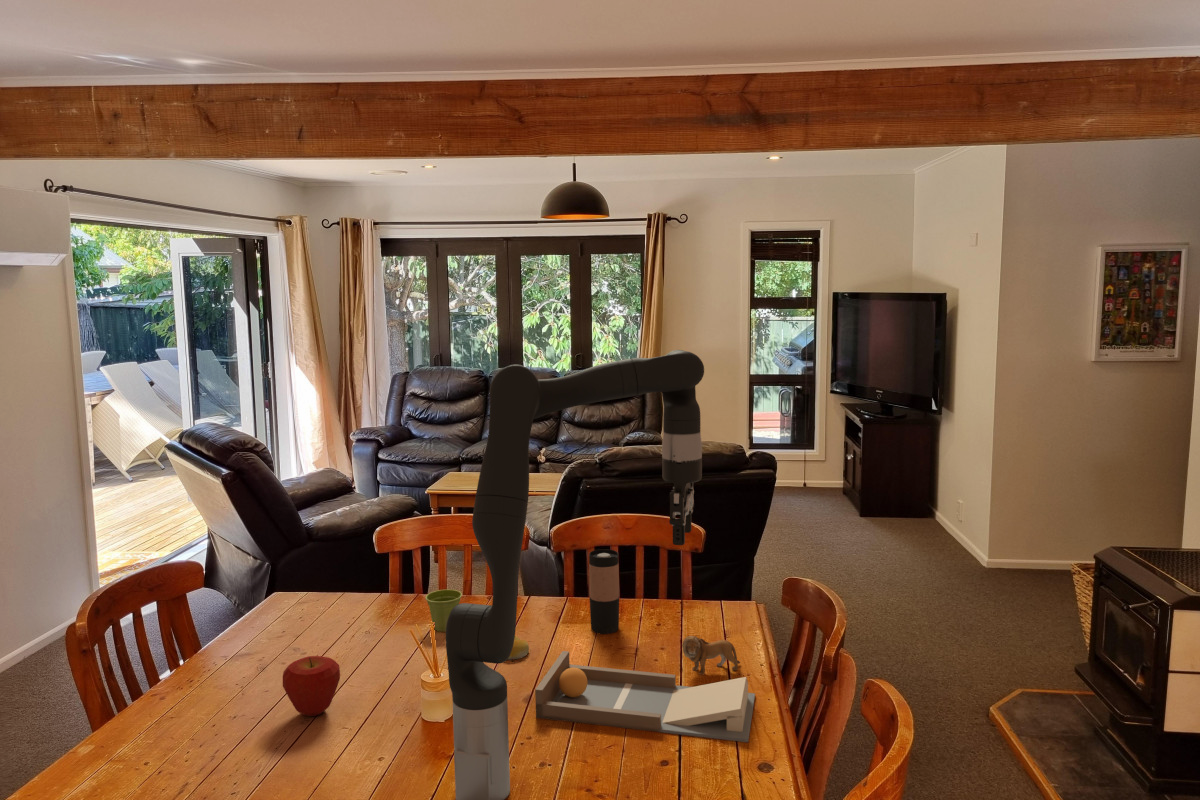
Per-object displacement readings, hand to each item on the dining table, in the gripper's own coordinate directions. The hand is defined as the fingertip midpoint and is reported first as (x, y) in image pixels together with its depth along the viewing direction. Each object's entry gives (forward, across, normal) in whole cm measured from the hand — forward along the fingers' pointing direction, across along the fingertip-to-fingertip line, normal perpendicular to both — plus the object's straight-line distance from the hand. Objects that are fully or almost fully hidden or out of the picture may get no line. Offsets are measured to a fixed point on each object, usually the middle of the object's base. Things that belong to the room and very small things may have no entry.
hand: (682, 538), depth 158 cm
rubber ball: (+34, -6, -24) cm, 43 cm away
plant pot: (+38, -36, -68) cm, 86 cm away
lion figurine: (+38, -25, +2) cm, 46 cm away
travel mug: (+38, -44, -27) cm, 64 cm away
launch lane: (+39, -6, -8) cm, 40 cm away
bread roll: (+39, -25, -46) cm, 65 cm away
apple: (+38, +12, -75) cm, 85 cm away
